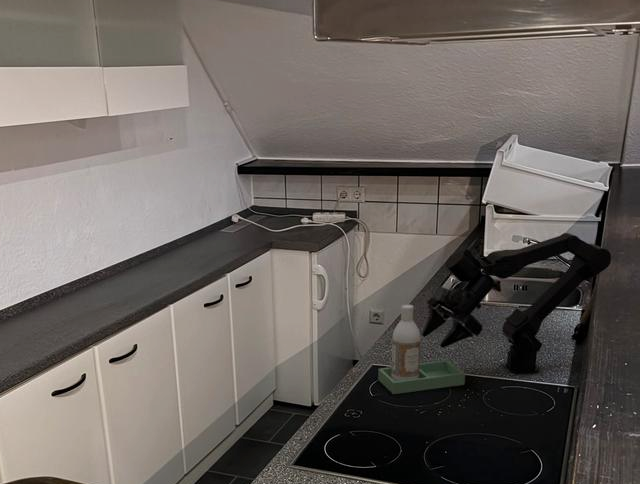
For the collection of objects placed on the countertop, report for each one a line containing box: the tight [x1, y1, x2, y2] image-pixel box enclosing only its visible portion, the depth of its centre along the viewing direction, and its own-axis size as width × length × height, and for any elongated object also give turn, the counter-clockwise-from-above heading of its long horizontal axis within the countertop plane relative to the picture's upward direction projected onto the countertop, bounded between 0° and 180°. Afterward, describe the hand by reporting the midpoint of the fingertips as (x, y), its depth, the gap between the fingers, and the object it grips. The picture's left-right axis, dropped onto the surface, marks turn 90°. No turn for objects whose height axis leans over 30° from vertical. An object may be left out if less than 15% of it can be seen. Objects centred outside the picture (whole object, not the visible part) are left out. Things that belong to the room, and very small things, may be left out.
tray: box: [377, 359, 466, 395], centre depth 195 cm, size 19×10×3 cm, turn 105°
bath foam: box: [391, 304, 422, 381], centre depth 190 cm, size 7×7×20 cm
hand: (431, 341), depth 193 cm, fingers open, 9 cm apart
